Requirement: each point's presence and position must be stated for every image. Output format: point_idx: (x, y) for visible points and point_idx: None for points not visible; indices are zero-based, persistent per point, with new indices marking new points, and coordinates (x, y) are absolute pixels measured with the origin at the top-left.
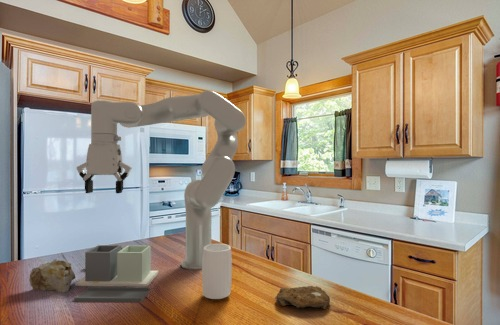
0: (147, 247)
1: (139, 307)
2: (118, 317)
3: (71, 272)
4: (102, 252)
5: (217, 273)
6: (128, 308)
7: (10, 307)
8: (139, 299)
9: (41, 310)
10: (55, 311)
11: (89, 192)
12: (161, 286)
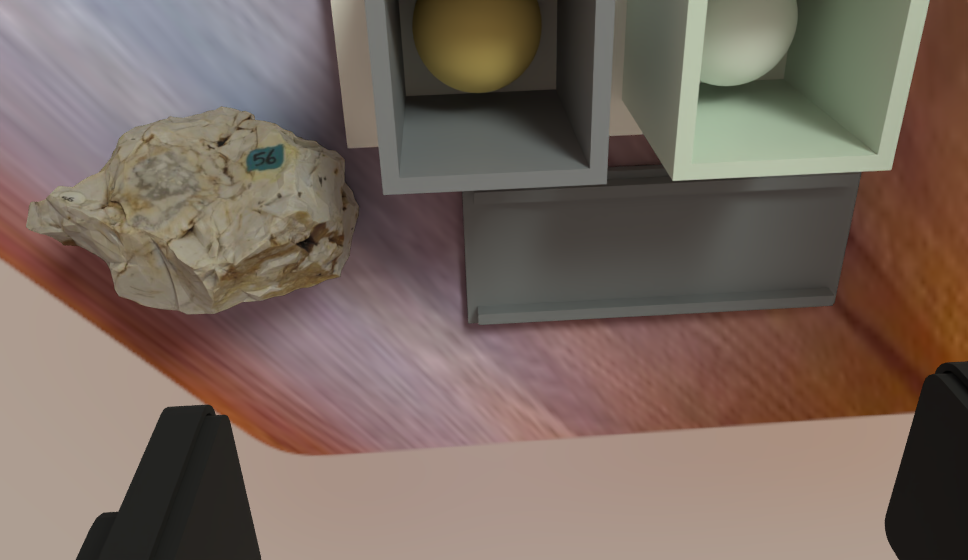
0: (918, 4)
1: (828, 327)
2: (755, 405)
3: (339, 219)
4: (538, 186)
5: None
6: (777, 339)
7: (193, 372)
8: (828, 303)
9: (371, 384)
10: (444, 386)
11: (253, 527)
12: (916, 86)
